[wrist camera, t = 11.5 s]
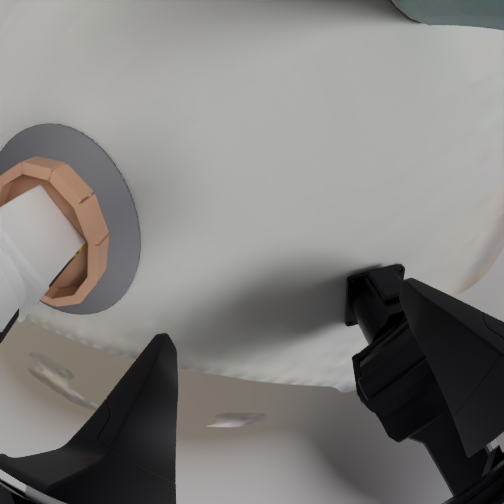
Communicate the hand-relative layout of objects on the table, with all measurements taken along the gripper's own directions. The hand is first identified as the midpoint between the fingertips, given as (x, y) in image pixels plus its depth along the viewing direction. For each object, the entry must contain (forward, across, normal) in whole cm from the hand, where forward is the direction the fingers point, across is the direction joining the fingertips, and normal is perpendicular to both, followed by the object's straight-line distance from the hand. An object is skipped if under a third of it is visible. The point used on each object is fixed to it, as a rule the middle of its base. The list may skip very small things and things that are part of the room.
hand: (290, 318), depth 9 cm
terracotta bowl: (+13, +19, -2) cm, 23 cm away
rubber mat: (+13, +19, -2) cm, 24 cm away
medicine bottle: (+13, +19, -2) cm, 23 cm away
